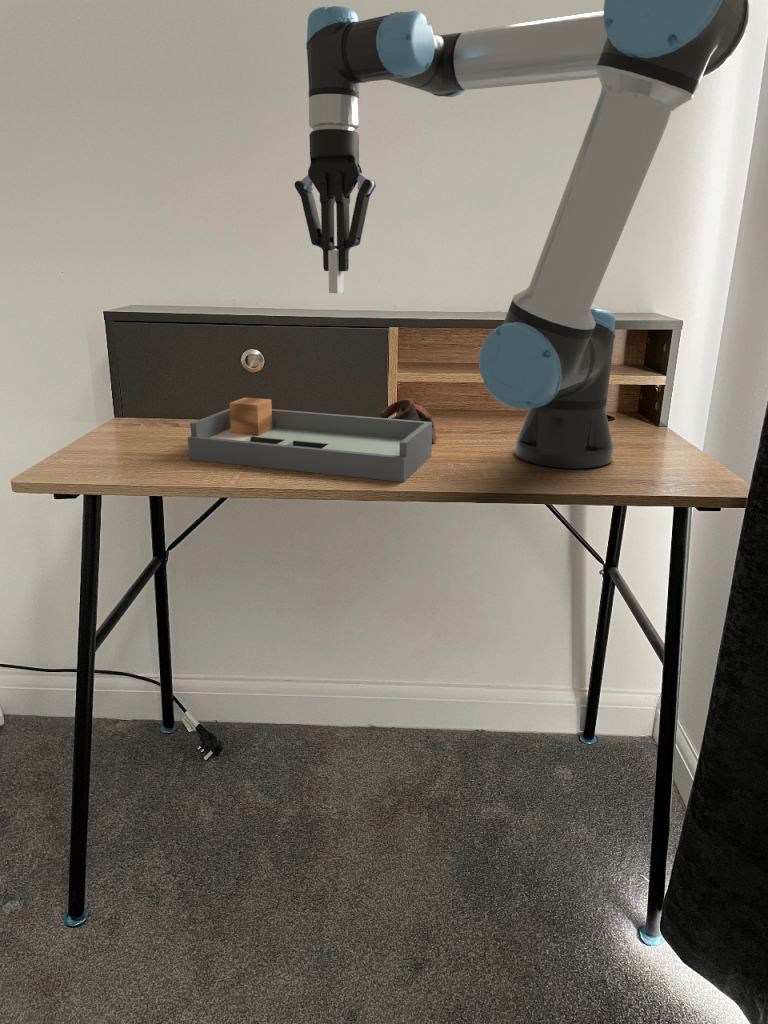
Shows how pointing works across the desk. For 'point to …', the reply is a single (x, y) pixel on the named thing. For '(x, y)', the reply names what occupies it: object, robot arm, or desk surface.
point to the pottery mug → (409, 413)
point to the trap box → (318, 444)
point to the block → (251, 416)
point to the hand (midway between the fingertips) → (336, 292)
